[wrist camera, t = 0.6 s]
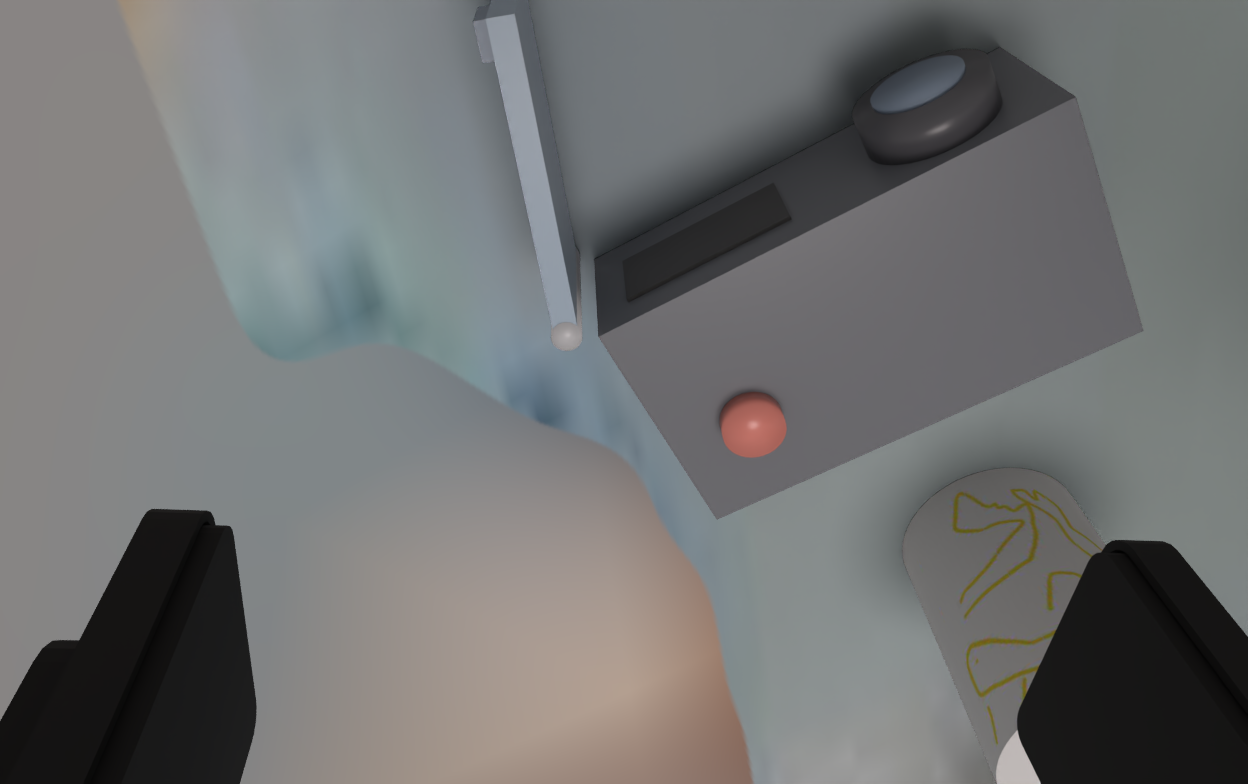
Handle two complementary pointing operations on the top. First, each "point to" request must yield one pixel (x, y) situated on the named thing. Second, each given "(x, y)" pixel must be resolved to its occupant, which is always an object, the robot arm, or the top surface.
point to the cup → (998, 592)
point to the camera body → (871, 279)
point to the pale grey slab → (535, 159)
